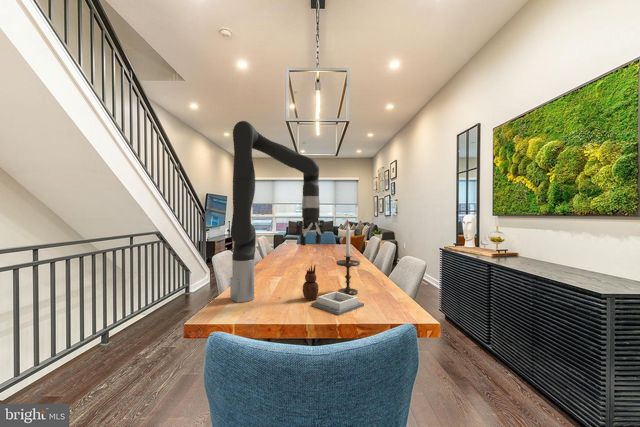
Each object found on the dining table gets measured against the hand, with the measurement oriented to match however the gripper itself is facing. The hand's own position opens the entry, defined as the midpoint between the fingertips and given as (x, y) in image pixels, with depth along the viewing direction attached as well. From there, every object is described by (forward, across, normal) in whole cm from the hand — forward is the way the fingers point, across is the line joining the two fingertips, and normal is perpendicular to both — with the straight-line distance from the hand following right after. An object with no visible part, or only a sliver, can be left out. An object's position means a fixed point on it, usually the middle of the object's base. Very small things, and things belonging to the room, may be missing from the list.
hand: (310, 244), depth 125 cm
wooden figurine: (+24, 0, 0) cm, 24 cm away
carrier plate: (+24, -2, +14) cm, 28 cm away
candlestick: (+24, -19, +5) cm, 31 cm away
